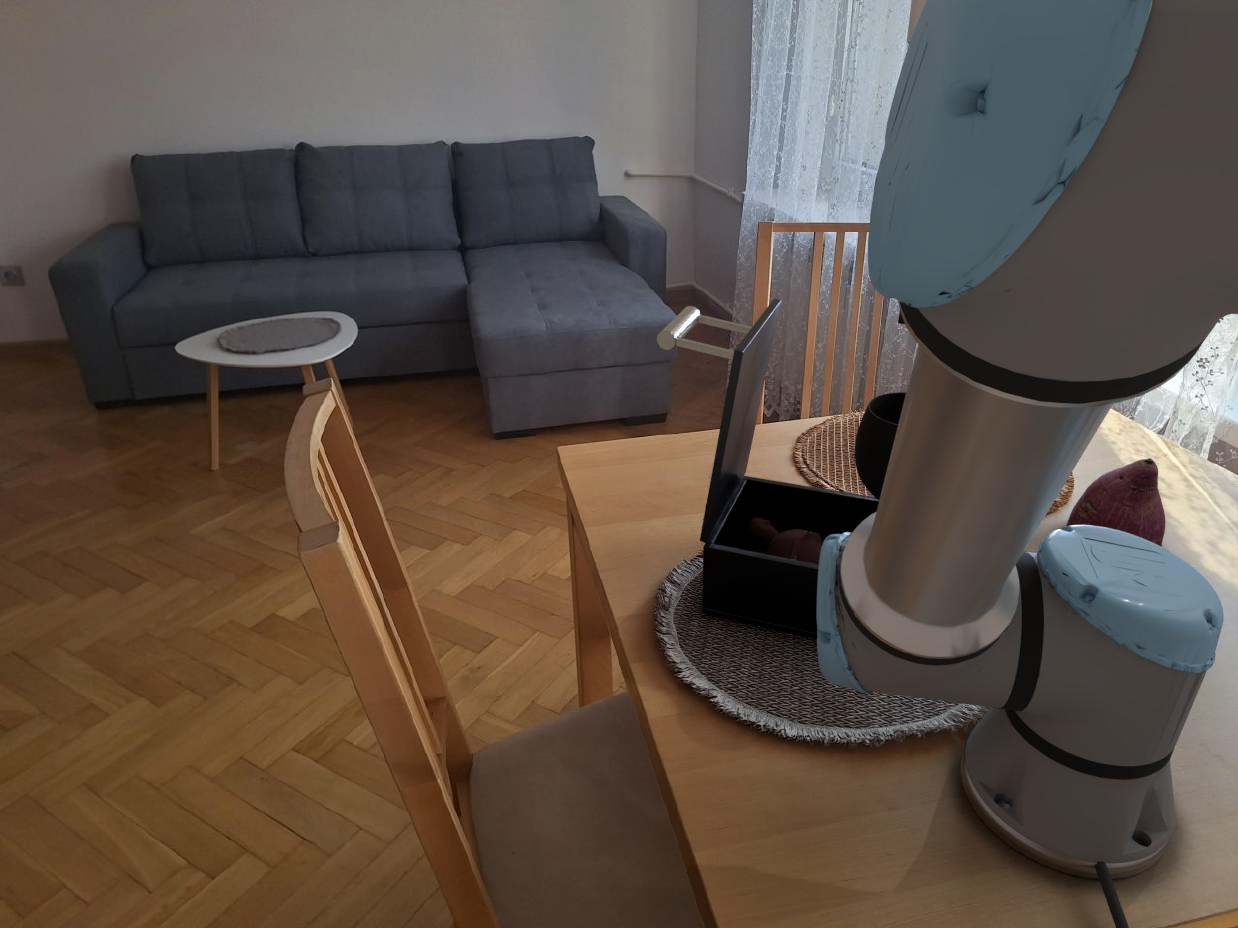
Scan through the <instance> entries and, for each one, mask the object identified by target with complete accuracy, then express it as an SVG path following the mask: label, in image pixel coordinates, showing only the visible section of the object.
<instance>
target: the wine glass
mask: <svg viewBox="0 0 1238 928" xmlns="http://www.w3.org/2000/svg"><path fill="white" fill-rule="evenodd" d="M906 392H907V391H905V392H902V391H901V392H899V391H898V392H889V393H883V394H880V395H877V396H875V397H874V398H872V399H870V401H869V402H868V404H867V406H866V408H865V410H864V413H863V415H862V417H861V420H860V422H859V425H858V428H857V432H856V436H855V442H854V464H855V469H856V471H857V474H858V476H859V479H860V481H861V483H862V484H863V486H864V487H865V489H866V490H867V491H868V492H869V494H871V495H872V497H875V498H876V499H878V500H880V496H881V492H882V488H883V484H884V480H885V476H886V472H887V468H888V464H889V460H890V456H891V452H892V448H893V444H894V440H895V436H896V432H897V428H898V424H899V420H900V416H901V412H902V408H903V404H904V400H905V396H906Z"/></svg>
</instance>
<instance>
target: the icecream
mask: <svg viewBox="0 0 1238 928" xmlns="http://www.w3.org/2000/svg"><path fill="white" fill-rule="evenodd" d="M748 529H749V532H750V534H752V535H753V536H754V537H756V538H758V539H760V540H761V541H763V542H766V543H769V545H768V548H767V551H764V550H761V549H750V550H748V551H752V552H757V553H762V554H767V555H772V556H777V557H782V558H787V559H792V560H797V561H802V562H808V563H813V564H818V565H819V559H820V552H821V548H822V545H823V541H822V540H821V537H820V535H819V534H818V533H815V532H811V531H809V532H808V531H806V530H801V529H793V530H788V531H785V532H782V533H778V532H777V531H776V529H775V528H774V527H772V526H771V524H770V521H769V520H763V519H761V518H752V519H751V520H750V521H749V524H748Z"/></svg>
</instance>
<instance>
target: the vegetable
mask: <svg viewBox="0 0 1238 928" xmlns="http://www.w3.org/2000/svg"><path fill="white" fill-rule="evenodd" d="M1158 486H1159V468H1158V464H1157V463H1156V462H1155V461H1154V459H1153V458H1151V457H1148V458H1142V459H1141V458H1140V459H1138V460H1136V461H1133V462H1132V463H1129V464H1126V465H1124V466H1121V467H1117V468H1115V469H1112V470H1110V471H1108V472H1106V473H1104V474H1102V475H1100V476H1099V477H1098V478H1096V479H1095V480H1093V482H1091V484H1090V485H1088V486H1087V488H1086V489H1085V491H1084V492H1083V493H1082V495H1081V496H1080V498H1079V499H1078V500H1077V502H1076V503H1075V504H1074V506H1073V508H1072V509H1071V512H1070V514H1069V517H1068V519H1067V522H1066V526H1071V525H1092V526H1100V527H1106V528H1111V529H1115V530H1119V531H1123V532H1126V533H1129V534H1132V535H1135V536H1138V537H1141V538H1143V539H1146V540H1148V541H1150V542H1153V543H1155V544H1157V545H1159V546H1161V547H1163V542H1164V541H1163V540H1164V537H1165V532H1166V524H1167V523H1166V515H1165V509H1164V505H1163V501H1162V497H1161V494H1160V491H1159V488H1158ZM1066 526H1065V527H1066Z"/></svg>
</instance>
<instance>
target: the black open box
mask: <svg viewBox="0 0 1238 928" xmlns="http://www.w3.org/2000/svg"><path fill="white" fill-rule="evenodd" d="M878 504H879V500H878V499H876V498H875V497H874V496H870V495H865V494H858V493H852V492H846V491H841V490H840V491H839V490H833V489H829V488H828V489H827V488H822V487H816V486H809V485H803V484H798V483H792V482H785V481H780V480H772V479H767V478H762V477H761V478H760V477H755V476H749V475H744V477H743V478H742V480H741V482H740V484H739V486H738V488H737V490H736V491H735V493H734V495H733V497H732V499H731V501H730V502H729V504H728V506H727V508H726V510H725V512H724V513H723V515H722V517H721V519H720V521H719V523H718V524H717V526H716V528H715V530H714V532H713V534H712V535H711V537H710V539H709V541H708V543H705V542H704V544H703V547H702V548H703V549H702V556H703V557H702V594H701V595H702V596H701V607H702V608H701V613H702V614H703V615H708V616H711V617H717V618H721V619H725V620H729V621H735V622H738V623H743V624H747V625H750V626H756V627H760V628H765V629H769V630H774V631H777V632H782V633H787V634H791V635H796V636H801V637H805V638H809V639H813V640H817V619H816V615H817V583H818V569H819V565H818V564H813V563H808V562H802V561H797V560H792V559H787V558H782V557H777V556H772V555H767V554H762V553H757V552H752V551H748V550H750V549H761V550H764V551H767V548H768V545H769V543H766V542H763V541H761V540H760V539H758V538H756V537H754V536H753V535H752V534H750V532H749V529H748V524H749V521H750V520H751V519H752V518H761V519H763V520H769V521H770V524H771V526H772V527H774V528H775V529H776V531H777V532H778V533H782V532H785V531H788V530H793V529H801V530H806V531H808V532H809V531H811V532H815V533H818V534H819V535H820V537H821V540H822V541H823V542H824V540H825V539H826V537H828V536H829V535H832V534H843V533H845V532H850V533H853V531H854V530H855V529H856V527H857V526H858V525H859V524H860V523H861V522H862V521H863V520H865V519H866V518H867V517H869V516H870V515H871V514H873V513H875V512H877V508H878Z"/></svg>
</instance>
